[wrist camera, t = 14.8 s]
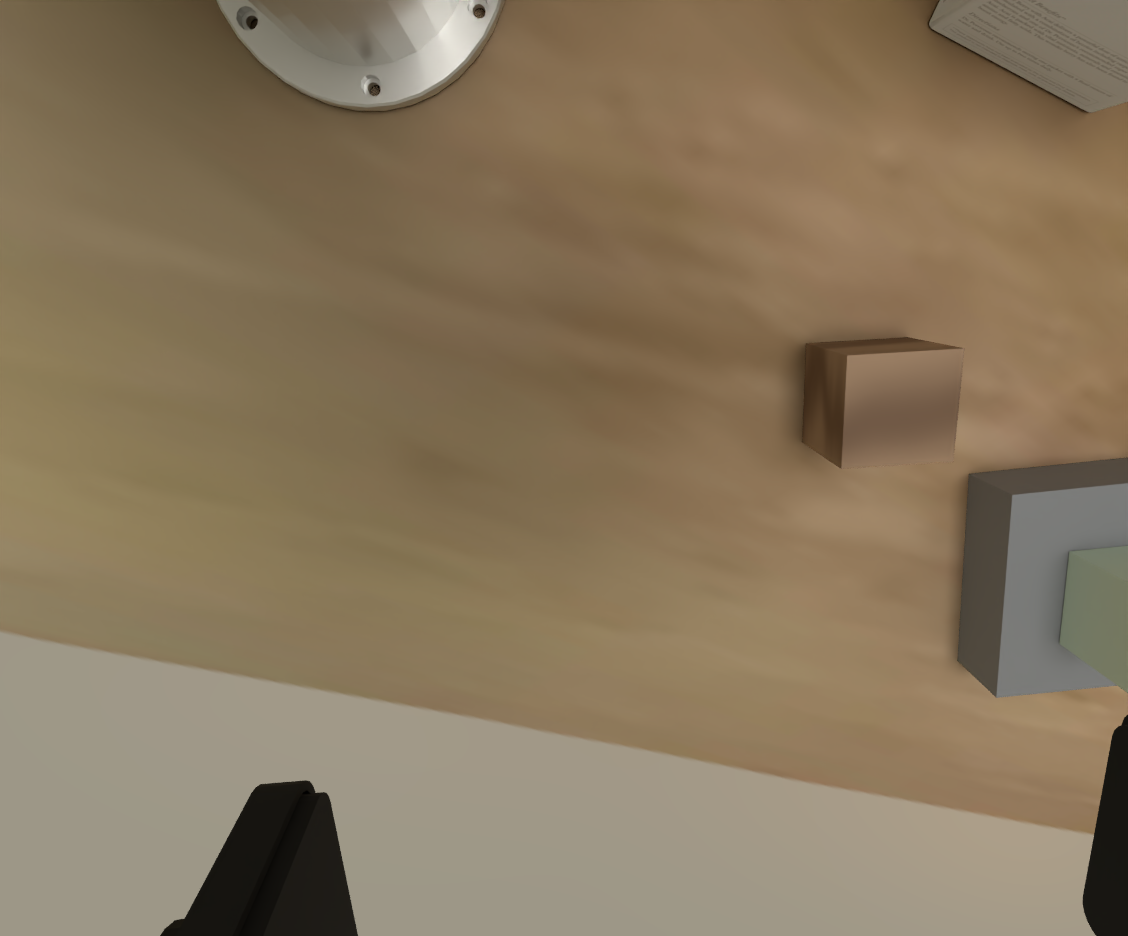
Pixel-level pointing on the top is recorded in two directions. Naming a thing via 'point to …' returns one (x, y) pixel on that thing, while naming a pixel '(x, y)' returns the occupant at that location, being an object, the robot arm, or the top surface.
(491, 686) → the top surface
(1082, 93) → the supplement box
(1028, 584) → the base block
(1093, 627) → the sage cube
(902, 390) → the walnut cube
